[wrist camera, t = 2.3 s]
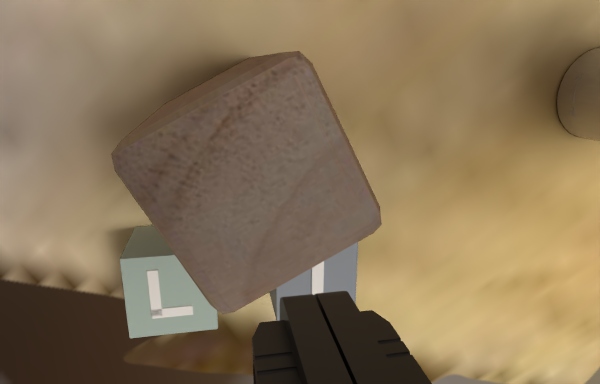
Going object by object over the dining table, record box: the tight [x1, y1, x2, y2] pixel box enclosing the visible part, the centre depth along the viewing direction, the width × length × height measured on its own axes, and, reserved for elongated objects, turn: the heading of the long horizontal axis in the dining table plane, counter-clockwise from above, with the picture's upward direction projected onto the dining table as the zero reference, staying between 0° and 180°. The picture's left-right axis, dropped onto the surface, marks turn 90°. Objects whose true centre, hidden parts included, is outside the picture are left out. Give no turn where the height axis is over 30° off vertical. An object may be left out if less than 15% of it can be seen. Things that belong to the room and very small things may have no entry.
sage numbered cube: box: [120, 226, 218, 338], centre depth 37 cm, size 7×7×7 cm
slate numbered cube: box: [270, 242, 358, 321], centre depth 40 cm, size 7×7×7 cm
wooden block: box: [112, 51, 381, 314], centre depth 29 cm, size 10×10×20 cm
